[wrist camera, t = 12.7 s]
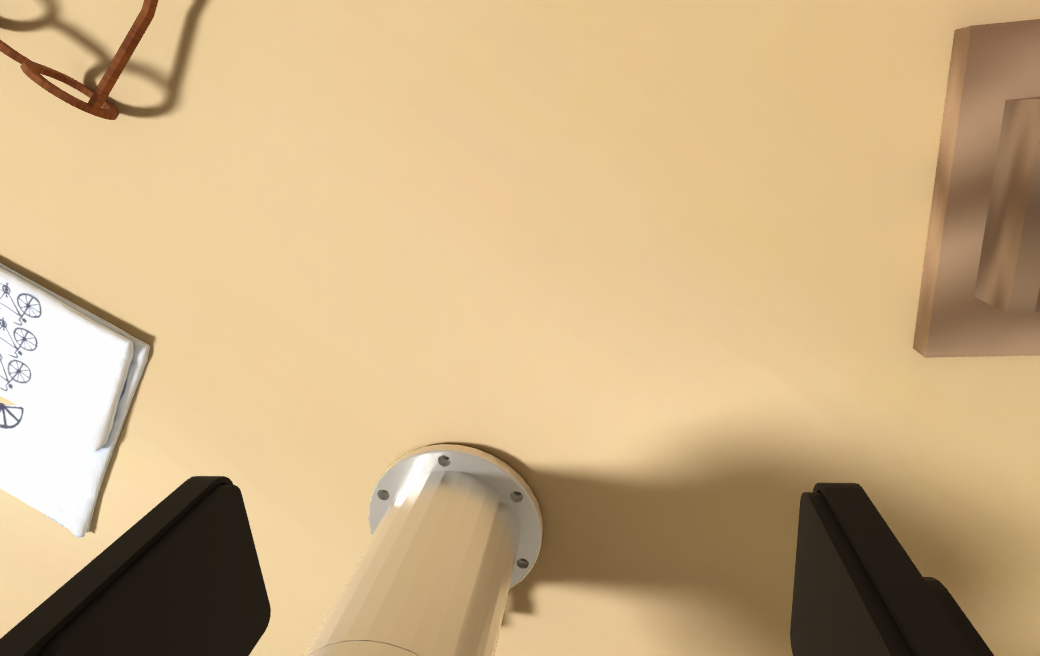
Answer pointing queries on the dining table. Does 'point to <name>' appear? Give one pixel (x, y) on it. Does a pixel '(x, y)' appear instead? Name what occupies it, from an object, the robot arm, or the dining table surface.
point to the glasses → (106, 82)
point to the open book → (60, 398)
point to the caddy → (986, 201)
